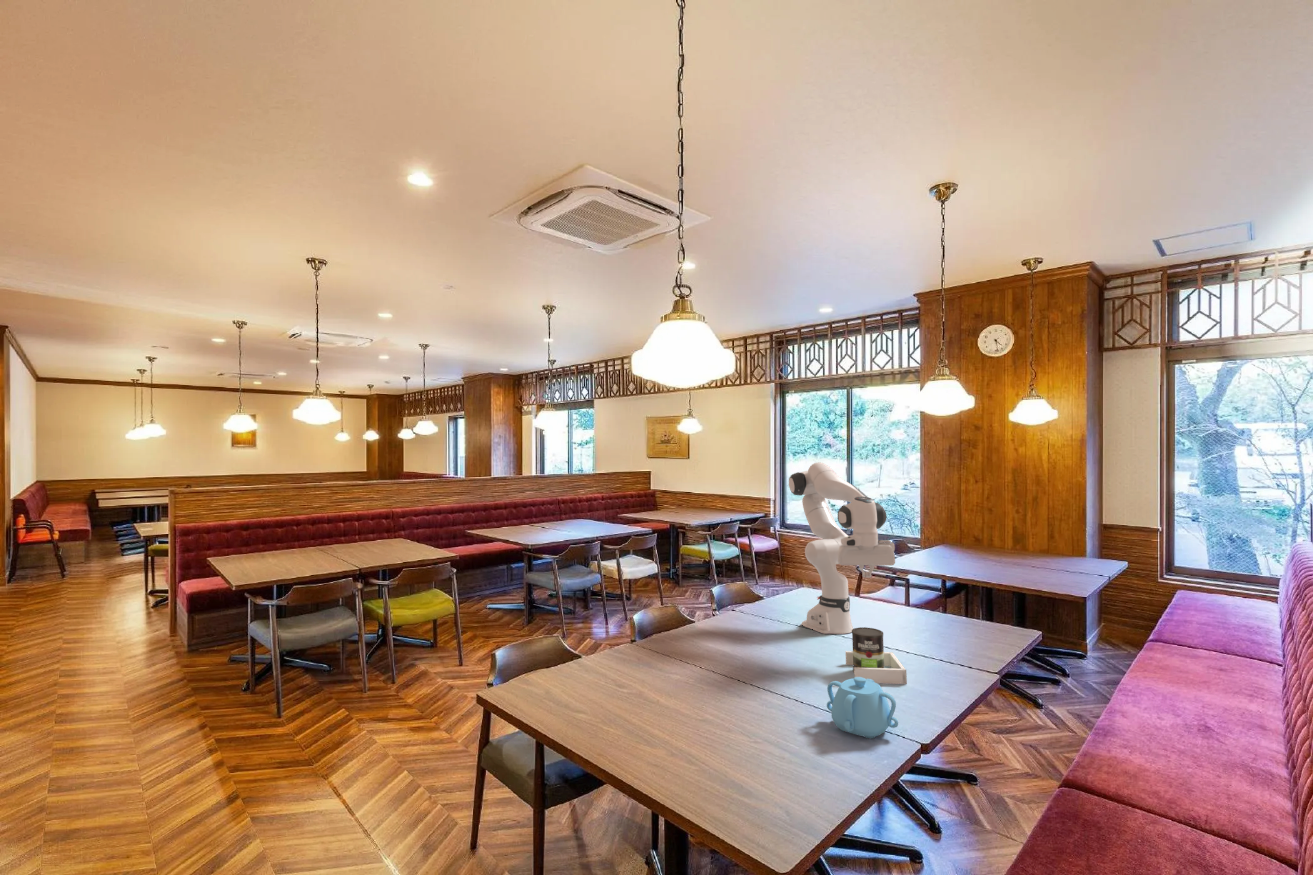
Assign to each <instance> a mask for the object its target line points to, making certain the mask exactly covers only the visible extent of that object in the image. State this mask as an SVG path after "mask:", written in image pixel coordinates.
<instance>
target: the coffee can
mask: <svg viewBox="0 0 1313 875" xmlns="http://www.w3.org/2000/svg"><path fill="white" fill-rule="evenodd" d="M851 634H852V635H851V636H852V651H853V665H852V667H853V668H852V669H853V670H852V672H853V673H854V667H860V668H885V666H884V652H885V651H884V632H883V631H882V630H880V629H877V628H873V627H866V626H865V627H853V629H852V632H851Z"/></svg>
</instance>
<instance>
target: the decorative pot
mask: <svg viewBox="0 0 1313 875" xmlns="http://www.w3.org/2000/svg"><path fill="white" fill-rule="evenodd" d="M833 686H837V687H838V689H837V690H836V693H835V694H834V692H833ZM826 689H827V694H828V697H829V700H828V701H827V703H826V708H827V709H828V711H829V712H831V719H832V721H833V723H834V724H835V726H836V727H837V728H838V729H840V731H842V732H844V731H846V732H845V733H849V734H853V735H856V736H860V737H864V736H865V737H864V738H866V739H868V738H873V739H875V737H877V736H880V735H882V734H884V733H885V732H886V731H887V730H888V729H889V728H892V729H894V728H897V727H898V726H899V719H897V718H896V717H894V714H895V711H896V708H897V703H896V699H895V697H894V696H893V695H891V694H890V693H888V692H885V691H884V690H883V688H882V687H881V685H880V683H875V682H874V681H873V680H872V679H865V678H862V677H853V678H849V679H846V680H844V681H843V682H842V681H841V682H840V681H839V680H834V681H830V682H829V683H828V684H827V688H826ZM889 701H890V704H891V706H890V704H889ZM892 721H893V722H892Z"/></svg>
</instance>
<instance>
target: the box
mask: <svg viewBox="0 0 1313 875" xmlns="http://www.w3.org/2000/svg"><path fill="white" fill-rule="evenodd" d="M845 665H846V666H853V650H852V651H851V650H845ZM886 667H889V668H886ZM853 673H854V677H853V678H855V677H862V678H865V679H872V680H873V681H874V682H875V683H877V684H888V685H889V684H891V685H895V684H896V685H907V684H908V678H907V675H908V673H907V668H905V667H904V665H903V664H902V662H900V660H899V659H898V657H897V656H896V655H895V654H894V652H892V651H891V652H890V651H889V652H888V651H884V668H860V667H854V672H853Z"/></svg>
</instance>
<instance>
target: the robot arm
mask: <svg viewBox="0 0 1313 875" xmlns="http://www.w3.org/2000/svg"><path fill="white" fill-rule="evenodd" d="M788 488H789V490H790V492H791V493H792V494H793V495H794V496H803V497H802V500H801V501H802V502H801V503H802V508H803V512H804V515H805V517H806V520H807V522H808V525H809V527H810V530H811V532H812V534H813V535H815V536H816V537H818V538H820V539H816V540H812V541H809V542H808V543H807V544H806V546H805V548H804V555H805V558H806V560H807V562H808V563H809V564H811V565H812V566H813V567H814V568H815V569H816V570H817V572H818V575H819V578H820V584H821V595H819V596H817V597H816V598H817V599H816V600H818V603H817V604H816V605H814V606H812V608H810V609H809V610H808V611H807V613H806V620H803V621H801V624H800V625H801V626H802V625H803V627H805V628H807V629H811V630H812V629H813V631H815V632H818V633H821V634H825V635H826V634H833V635H834V634H835V635H840V634H841V635H842V634H843V635H844V634H851V633H852V629H854V626H853V623H852V618H851V612H850V608H851V600H850V598H851V597H850V596H849V580H848V578H847V577H846V576H845V575H844V574H843V573H841V572H839V571H838V569H837V565H840V566H858V568H859V570H860V571H861V572H862V573H861V574H862V576H861V577H862V578H872V573H873V571H874V570H875V566H892V567H893V566H894V565H895V564H896V559H895V558H896V557H895V553H894V552H895V549H896V547H895V546H896V545H895V543H894V542H893V541H891V540H890V539H887V540H883V539H880V540H879V534H878V533H879V532H878V530H879V529H881V528H882V527H883V526H884V525H885V523H886V521H887V519H888V518H887V516H888V515H887V512H886V510H885V509H884V507H883V506H882V505H881V504H880V503H879V502H875V500H874V499H873V498H871V497H868V495H866V494H865V493H864V492H863V491H862V490H860V489H859V488H858V487H857V486H855V485H853V484H852V483H850V482H848V481H846V480H845V479H843V478H842V477H840V476H839V475H838V474H837V473H836V472H835V471H834V470H833V469H832V468H831V466H828V465H827V464H826V463H824V462H820V461H819V462H814V463H812V464H811V465H810V467H808V470H804V471H799V472H794V473H792V474H791V475H790V476H789V478H788ZM826 499H827V500H835V501H844V502H849V503H847V504H845V505H842V506H840V508H839V510H838V512H837V522H838V523H839V525H840V526H841V527H842V528H844V529H847V530H852V534H851V535H848V534H847V533H846V532H845V531H843V530H842V529H841V528H840V526H838V524H837V522H836V521H835V518H834V517H833V514H832V512H831V510H830V507H829V505H828V503H827V501H826ZM865 566H868V567H869V570H868V571H864V569H865Z"/></svg>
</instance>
